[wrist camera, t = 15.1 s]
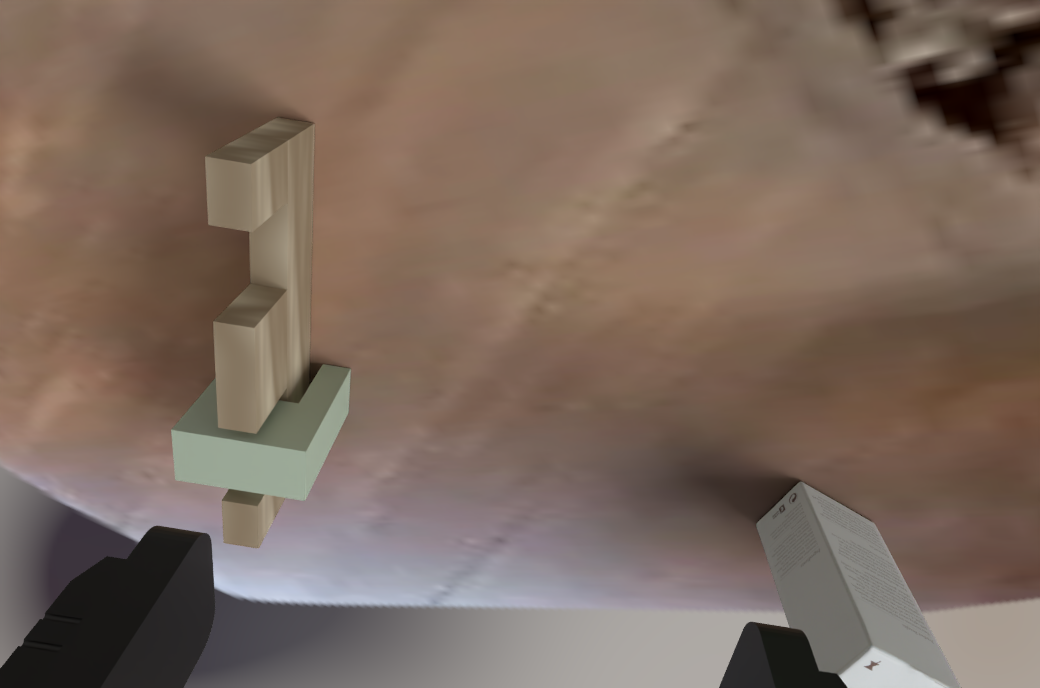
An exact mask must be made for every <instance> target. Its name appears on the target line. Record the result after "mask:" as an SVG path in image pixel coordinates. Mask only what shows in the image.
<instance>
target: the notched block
mask: <svg viewBox="0 0 1040 688" xmlns="http://www.w3.org/2000/svg"><path fill="white" fill-rule="evenodd" d="M350 374H351V369H350V368H343V367H337V366H331V365H325V364H323V365H322V366H321V368H320V370H319V371H318V373H317V374H316V376H315V378H314V379H313V381H312V383H311V384H310V386H309V387H308V389H307V391H306V392H305V394H304V396H303V397H302V399H301V401H300V402H299V403H293V402H287V401H281V400H279V401H278V402H277V404H276V405H275V407H274V408H273V410H272V411H271V413H270V414H269V416H268V417H267V419H266V420H265V422H264V423H263V425H262V426H261V428H260V429H259V431H258V432H257V434H254V433H248V432H242V431H236V430H229V429H223V428H218V414H217V394H216V378H215V379H214V380H213V381H212V383H211V384H210V385H209V386H208V387H207V388H206V390H205V391H204V392H203V393H202V394H201V395H200V397H199V398H198V399H197V400H196V401H195V403H194V404H193V405H192V406H191V407H190V408H189V410H188V411H187V412H186V413H185V414H184V415H183V417H182V418H181V419H180V420H179V421H178V423H177V424H176V425H175V426H174V427H173V428H172V430H171V433H172V445H173V457H174V470H175V480H178V481H184V482H191V483H197V484H203V485H209V486H215V487H222V488H228V489H234V490H240V491H246V492H253V493H259V494H265V495H271V496H277V497H284V498H290V499H296V500H302V501H305V500H306V498H307V496H308V494H309V492H310V490H311V488H312V486H313V484H314V481H315V479H316V477H317V475H318V473H319V471H320V469H321V467H322V465H323V463H324V461H325V459H326V457H327V455H328V453H329V451H330V449H331V447H332V445H333V443H334V441H335V439H336V437H337V435H338V433H339V431H340V429H341V427H342V425H343V423H344V421H345V419H346V417H347V415H348V412H349V393H350Z"/></svg>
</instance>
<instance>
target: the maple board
mask: <svg viewBox="0 0 1040 688" xmlns="http://www.w3.org/2000/svg"><path fill="white" fill-rule="evenodd" d="M314 128H315V123H309V122H303V121H297V120H291V119H285V118H279V117H277V118H275V119H274V120H272V121H270V122H268V123H266V124H264V125H262V126H261V127H259V128H257V129H255V130H253V131H251V132H249V133H248V134H246V135H244V136H242V137H240V138H238V139H236V140H235V141H233V142H231V143H229V144H227V145H225V146H223V147H222V148H220V149H218V150H216V151H214V152H212V153H210V154H209V155H207V156H205V168H206V188H207V209H208V225H211V226H217V227H223V228H230V229H236V230H242V231H248V232H249V245H250V285H249V286H248V287H247V288H246V289H245V290H244V291H243V292H242V293H241V294H240V295H239V296H238V297H237V298H236V299H235V300H234V301H233V302H232V303H231V304H230V305H229V306H228V307H227V308H226V309H225V310H224V311H223V312H222V313H221V314H220V315H219V316H218V317H217V318H216V319H215V320H214V321H213V332H214V353H215V373H216V394H217V414H218V428H223V429H229V430H236V431H242V432H248V433H254V434H257V432H258V431H259V429H260V428H261V426H262V425H263V423H264V422H265V420H266V419H267V417H268V416H269V414H270V413H271V411H272V410H273V408H274V407H275V405H276V404H277V402H278V401H279V400H281V401H287V402H293V403H299V402H300V401H301V399H302V397H303V396H304V394H305V392H306V391H307V389H308V387H309V375H310V326H311V276H312V227H313V178H314ZM284 500H285V498H284V497H277V496H271V495H265V494H259V493H253V492H246V491H240V490H234V489H229V490H228V492H227V493H226V495H225V496H224V498H223V499H222V517H223V537H224V543H227V544H233V545H240V546H246V547H252V548H259V547H260V545H261V543H262V541H263V539H264V537H265V536H266V534H267V532H268V530H269V528H270V526H271V524H272V522H273V520H274V519H275V517H276V515H277V513H278V511H279V509H280V507H281V505H282V504H283V502H284Z"/></svg>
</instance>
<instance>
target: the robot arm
mask: <svg viewBox="0 0 1040 688" xmlns="http://www.w3.org/2000/svg"><path fill="white" fill-rule="evenodd" d="M214 614H215V595H214V578H213V561H212V544H211V539H210V536H209V535H208V534H207V533H200V532H194V531H188V530H181V529H175V528H169V527H163V526H154V527H152V528H151V529H150V530H149V531H148V532H147V533H146V534H145V535H144V536H143V538H142V539H141V540H140V542H139V543H138V545H137V546H136V547H135V549H134V550H133V551H132V553H131V554H130V556H129V557H128V558H127V559H120V558H114V557H108V556H107V557H105V558H104V559H103V560H101V561H100V562H98V563H97V564H95V565H94V566H92V567H91V568H90V569H88V570H86V571H85V572H83V573H82V574H81V575H79V576H78V577H76V578H75V579H73V580H72V581H70V583H69V584H68V585H67V586H66V588H65V589H64V590H63V591H62V593H61V594H60V595H59V596H58V598H57V599H56V600H55V601H54V603H53V604H52V605H51V606H50V608H49V609H48V610H47V611H46V613H45V617H44V619H43V620H42V619H40V620H39V621H38V623H37V624H36V625H35V626H34V627H33V629H32V630H31V631H30V632H29V634H28V635H27V636H26V637H25V639H24V643H23V645H22V646H21V647H20V646H18V647H17V649H16V650H15V651H14V652H13V653H12V655H11V656H10V657H9V659H8V660H7V661H6V662H5V664H4V665H3V666H2V667H1V668H0V688H184V686H185V684H186V682H187V680H188V678H189V676H190V674H191V672H192V671H193V669H194V667H195V665H196V663H197V661H198V660H199V658H200V656H201V654H202V652H203V650H204V648H205V646H206V643H207V641H208V638H209V635H210V632H211V628H212V624H213V620H214ZM719 688H848V687H847V686H846V685H845V683H844V682H843V681H842V679H841V678H840V677H839V675H838V674H836V673H830V672H823V671H819V669H818V666H817V663H816V660H815V658H814V655H813V652H812V649H811V646H810V643H809V641H808V638H807V636H806V635H805V633H804V632H803V631H802V630H800V629H794V628H787V627H781V626H774V625H767V624H762V623H756V622H749V623H748V624H746V626H745V627H744V629H743V631H742V634H741V636H740V638H739V641H738V643H737V646H736V648H735V650H734V653H733V655H732V658H731V660H730V662H729V665H728V667H727V670H726V672H725V674H724V677H723V680H722V682H721V684H720V687H719Z"/></svg>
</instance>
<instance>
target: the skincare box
mask: <svg viewBox="0 0 1040 688" xmlns="http://www.w3.org/2000/svg"><path fill="white" fill-rule="evenodd" d="M756 527H757V530H758V533H759V536H760V539H761V542H762V545H763V548H764V551H765V554H766V557H767V560H768V563H769V566H770V569H771V572H772V575H773V579H774V582H775V585H776V588H777V591H778V594H779V597H780V600H781V603H782V606H783V609H784V612H785V615H786V618H787V621H788V624H789V627H790V628H794V629H800V630H802V631H803V632H804V633H805V635H806V636H807V638H808V641H809V643H810V646H811V649H812V652H813V655H814V658H815V660H816V663H817V666H818V669H819V671H823V672H830V673H836V674H838V675H839V677H840V678H841V679H842V681H843V682H844V683H845V685H846V686H847V687H848V688H961V686H960V684H959V682H958V681H957V679H956V677H955V675H954V673H953V671H952V669H951V667H950V665H949V663H948V662H947V659H946V658H945V656H944V654H943V652H942V650H941V648H940V646H939V645H938V643H937V641H936V639H935V637H934V635H933V633H932V631H931V630H930V627H929V626H928V624H927V622H926V620H925V618H924V616H923V614H922V612H921V610H920V608H919V606H918V604H917V603H916V601H915V599H914V597H913V595H912V593H911V591H910V590H909V588H908V586H907V584H906V582H905V580H904V578H903V576H902V574H901V573H900V571H899V569H898V567H897V565H896V563H895V561H894V559H893V557H892V556H891V554H890V552H889V550H888V548H887V546H886V544H885V542H884V540H883V538H882V537H881V535H880V533H879V531H878V529H877V527H876V525H875V524H874V523H873V522H871V521H869V520H868V519H866V518H864V517H862V516H861V515H859V514H857V513H855V512H854V511H852V510H850V509H848V508H847V507H845V506H843V505H842V504H840V503H838V502H836V501H835V500H833V499H831V498H829V497H827V496H826V495H824V494H822V493H821V492H819V491H817V490H815V489H814V488H812V487H810V486H809V485H807V484H805V483H804V482H799V483H798V484H797V485H796V486H794V487H793V488H792V489H791V490H790V491H789V492H788V493H787V494H786V495H785V496H784V497H783V498H782V499H781V500H780V501H779V502H778V503H777V504H776V505H775V506H774V507H773V508H772V509H771V510H770V511H769V512H768V513H767V514H766V515H765V516H764V517H762V518H761V519H760V520H759V521H758V522H757V524H756Z"/></svg>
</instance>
